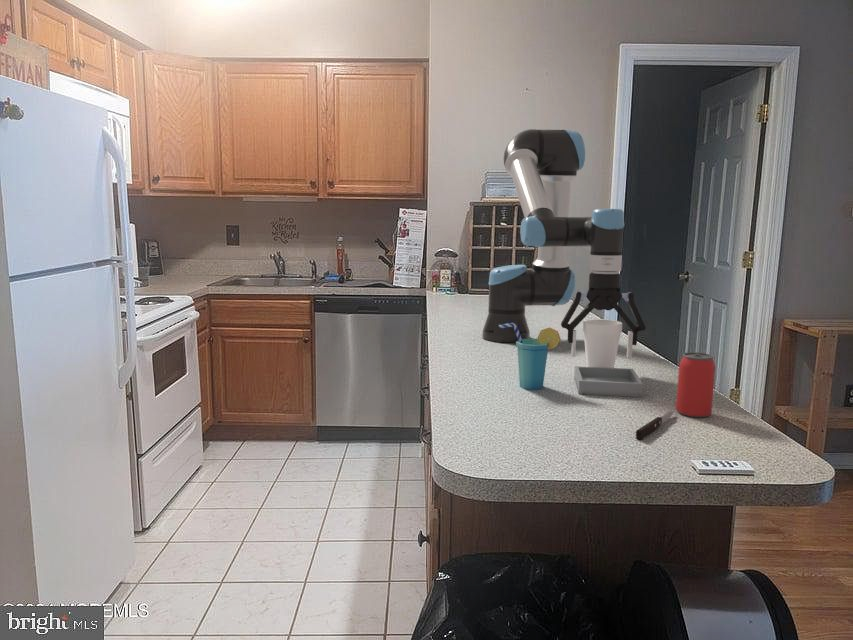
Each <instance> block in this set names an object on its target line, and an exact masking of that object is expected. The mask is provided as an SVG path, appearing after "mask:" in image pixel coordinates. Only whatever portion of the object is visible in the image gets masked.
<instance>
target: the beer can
mask: <svg viewBox="0 0 853 640" xmlns="http://www.w3.org/2000/svg"><path fill="white" fill-rule="evenodd" d="M678 365H679V366H678V378H677V391H676V404H675V405H676V406H675V410H676V411H677V412H678V413H679V414H680V415H682V416H685V417H690V418H699V419H700V418H708V417H709V416H710V415H711V414H712V412H713V410H712V408H713V398H714V387H715V376H716V364H715V361H714V356H713V354H708V353H704V352H696V351H695V352H694V351H692V352H690V351H689V352H688V351H687V352H684V353H682V358H681V360H680V362H679V364H678Z"/></svg>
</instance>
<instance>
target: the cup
mask: <svg viewBox="0 0 853 640" xmlns="http://www.w3.org/2000/svg"><path fill="white" fill-rule="evenodd" d="M506 327H514V329H515V332H516V335H517V338H518V341H517V342H515V345H516V348H517V363H518V377H519V379H518V380H519V381H518V383H519V388H522V389H523V390H528V391H529V390H530V391H531V390H532V391H534V390H535V391H537V390H541V389H543V387H544V382H545V374H546V367H547V366H546V365H547V358H548V351H549V350H552V349H556V348H558V346H559V344H560V342H561V340H562V339H561V336H560V333H559V331H558V330H557V329H554V328H552V327H550V326H549V327H546V328H543V329H541V330H540V332H539V334H538V336H537V338H531V337H530V339H521V336H520V333H519V330H518V327H517V326H516V325H515V324H514V323H508V324H502V325H499V328H506Z"/></svg>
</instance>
